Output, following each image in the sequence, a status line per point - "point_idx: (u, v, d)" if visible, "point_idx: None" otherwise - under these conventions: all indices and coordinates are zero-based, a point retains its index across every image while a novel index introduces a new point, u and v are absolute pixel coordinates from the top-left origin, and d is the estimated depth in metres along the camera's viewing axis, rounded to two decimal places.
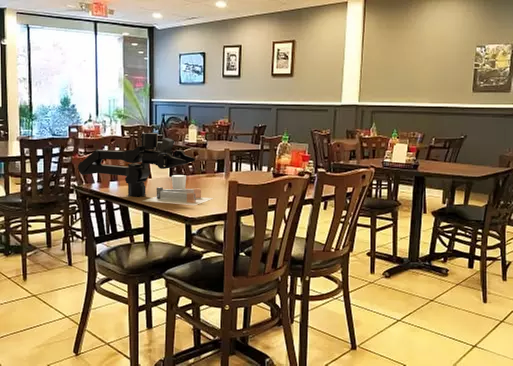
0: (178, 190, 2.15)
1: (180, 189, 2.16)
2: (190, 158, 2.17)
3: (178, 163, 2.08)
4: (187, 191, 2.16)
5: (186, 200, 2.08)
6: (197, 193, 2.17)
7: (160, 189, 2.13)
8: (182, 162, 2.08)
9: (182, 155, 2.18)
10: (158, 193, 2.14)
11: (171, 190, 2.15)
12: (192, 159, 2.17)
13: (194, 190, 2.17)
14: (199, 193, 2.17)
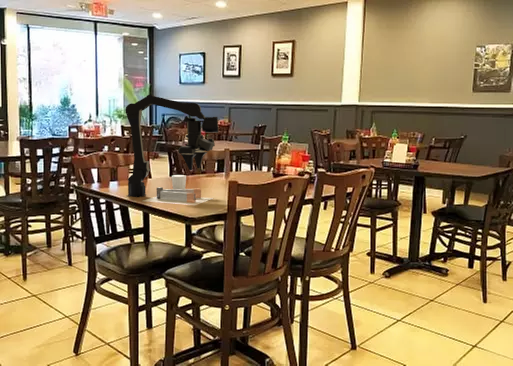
0: (178, 190, 2.15)
1: (180, 189, 2.16)
2: (199, 163, 2.25)
3: (187, 164, 2.17)
4: (187, 191, 2.16)
5: (186, 200, 2.08)
6: (197, 193, 2.17)
7: (160, 189, 2.13)
8: (189, 167, 2.18)
9: (201, 154, 2.25)
10: (158, 193, 2.14)
11: (171, 190, 2.15)
12: (198, 166, 2.25)
13: (194, 190, 2.17)
14: (199, 193, 2.17)
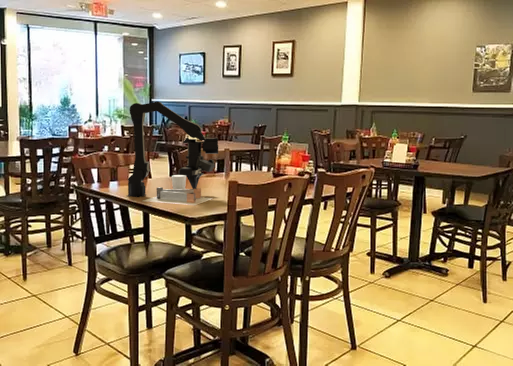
0: (178, 190, 2.15)
1: (180, 189, 2.16)
2: None
3: (191, 184, 2.22)
4: (187, 191, 2.16)
5: (186, 200, 2.08)
6: (197, 193, 2.17)
7: (160, 189, 2.13)
8: (193, 187, 2.23)
9: (197, 175, 2.23)
10: (158, 193, 2.14)
11: (171, 190, 2.15)
12: None
13: (194, 190, 2.17)
14: (199, 193, 2.17)
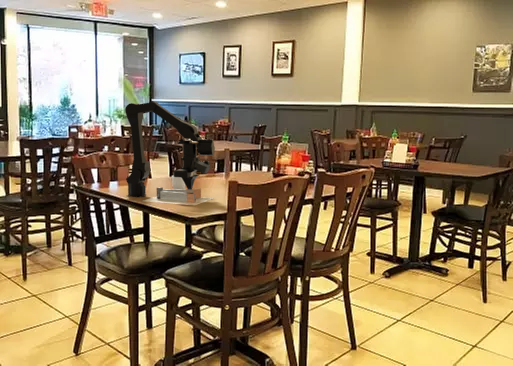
0: (178, 190, 2.15)
1: (180, 189, 2.16)
2: None
3: (187, 186, 2.18)
4: (187, 191, 2.16)
5: (186, 200, 2.08)
6: (197, 193, 2.17)
7: (160, 189, 2.13)
8: None
9: (193, 177, 2.18)
10: (158, 193, 2.14)
11: (171, 190, 2.15)
12: None
13: (194, 190, 2.16)
14: (199, 193, 2.17)
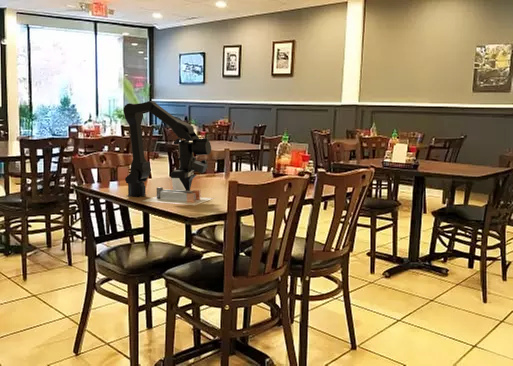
0: (177, 191, 2.13)
1: (179, 190, 2.14)
2: None
3: (185, 186, 2.14)
4: (186, 192, 2.13)
5: (186, 200, 2.08)
6: None
7: (159, 189, 2.13)
8: None
9: (190, 177, 2.14)
10: (157, 193, 2.14)
11: None
12: (187, 189, 2.15)
13: (193, 192, 2.12)
14: (198, 195, 2.12)
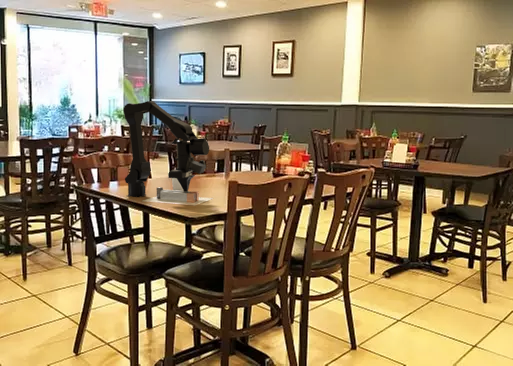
0: (175, 191, 2.12)
1: (178, 190, 2.12)
2: None
3: (183, 187, 2.12)
4: None
5: (186, 200, 2.08)
6: None
7: (159, 189, 2.13)
8: (184, 190, 2.13)
9: (188, 178, 2.12)
10: (157, 193, 2.14)
11: None
12: (185, 190, 2.13)
13: (190, 192, 2.10)
14: None
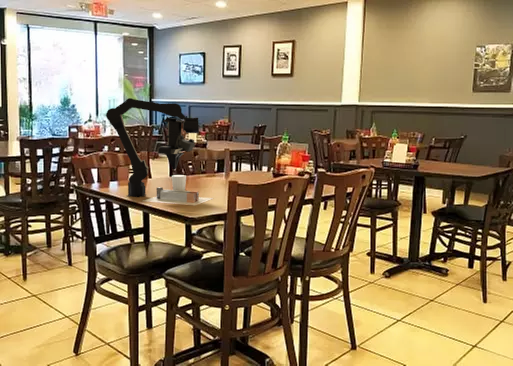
0: (175, 191, 2.12)
1: (178, 190, 2.12)
2: None
3: (171, 163, 2.22)
4: None
5: (186, 200, 2.08)
6: None
7: (159, 189, 2.13)
8: (173, 167, 2.23)
9: None
10: (157, 193, 2.14)
11: None
12: None
13: (190, 192, 2.10)
14: None
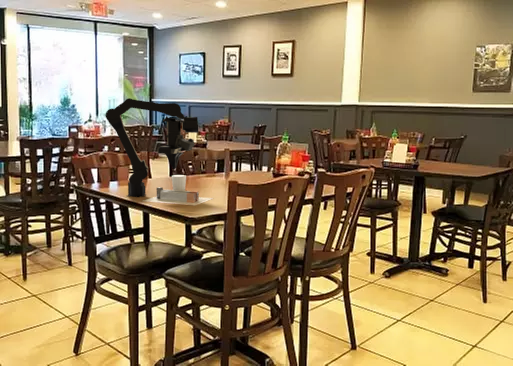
0: (175, 191, 2.12)
1: (178, 190, 2.12)
2: None
3: (171, 163, 2.22)
4: None
5: (186, 200, 2.08)
6: None
7: (159, 189, 2.13)
8: (172, 166, 2.23)
9: (177, 155, 2.23)
10: (157, 193, 2.14)
11: None
12: None
13: (190, 192, 2.10)
14: None
